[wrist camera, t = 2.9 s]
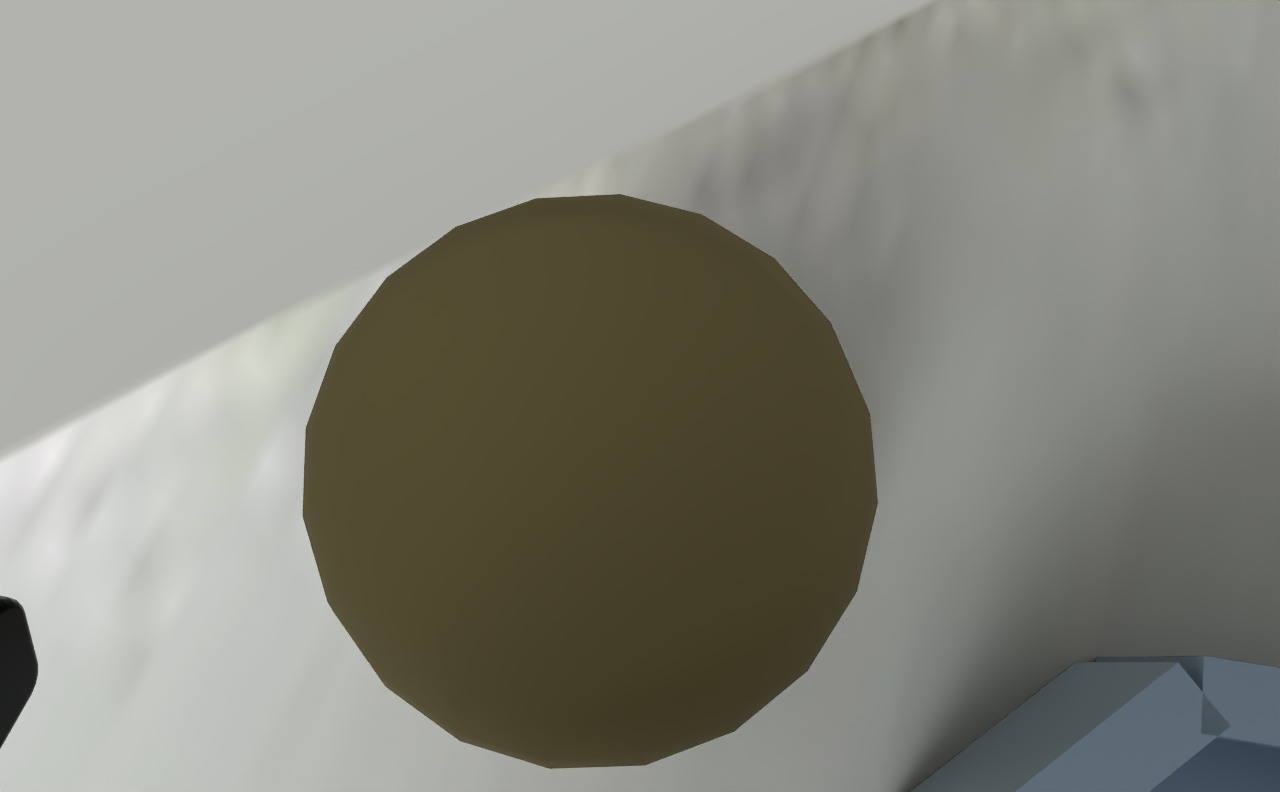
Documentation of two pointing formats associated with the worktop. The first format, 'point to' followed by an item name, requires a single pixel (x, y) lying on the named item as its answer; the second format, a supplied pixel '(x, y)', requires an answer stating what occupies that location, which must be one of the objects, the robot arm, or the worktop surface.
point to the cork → (589, 481)
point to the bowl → (1132, 732)
